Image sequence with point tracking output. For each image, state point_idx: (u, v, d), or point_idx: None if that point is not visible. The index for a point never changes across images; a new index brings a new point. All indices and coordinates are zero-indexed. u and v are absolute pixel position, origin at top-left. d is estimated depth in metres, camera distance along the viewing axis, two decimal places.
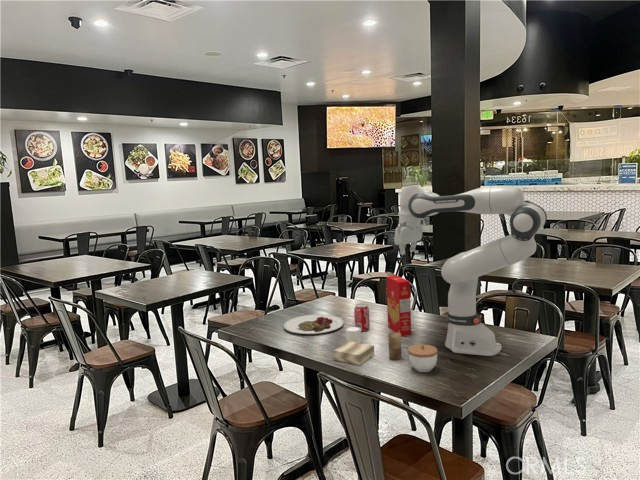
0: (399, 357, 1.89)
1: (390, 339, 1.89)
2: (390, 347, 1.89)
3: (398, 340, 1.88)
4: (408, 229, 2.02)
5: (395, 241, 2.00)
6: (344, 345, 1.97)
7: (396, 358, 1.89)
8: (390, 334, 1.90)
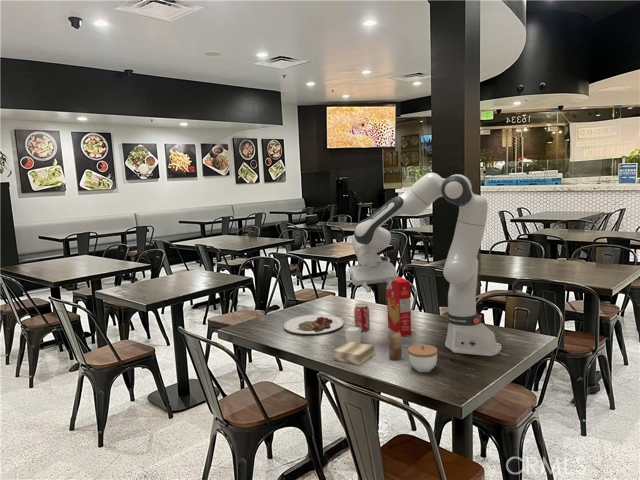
0: (399, 357, 1.89)
1: (390, 339, 1.89)
2: (390, 347, 1.89)
3: (398, 340, 1.88)
4: (364, 267, 2.04)
5: (352, 282, 2.01)
6: (344, 345, 1.97)
7: (396, 358, 1.89)
8: (390, 334, 1.90)
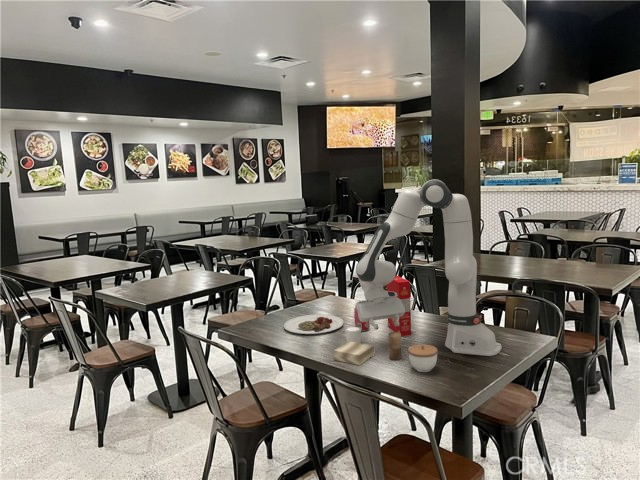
0: (399, 357, 1.89)
1: (390, 339, 1.89)
2: (390, 347, 1.89)
3: (398, 340, 1.88)
4: (370, 303, 2.00)
5: (359, 318, 1.97)
6: (344, 345, 1.97)
7: (396, 358, 1.89)
8: (390, 334, 1.90)
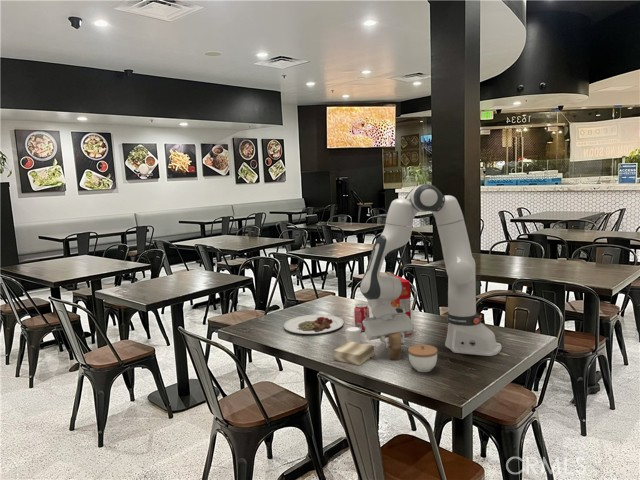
0: (399, 357, 1.89)
1: (390, 339, 1.89)
2: (390, 347, 1.89)
3: (398, 340, 1.88)
4: (378, 320, 1.94)
5: (367, 336, 1.91)
6: (344, 345, 1.97)
7: (396, 358, 1.89)
8: (390, 334, 1.90)
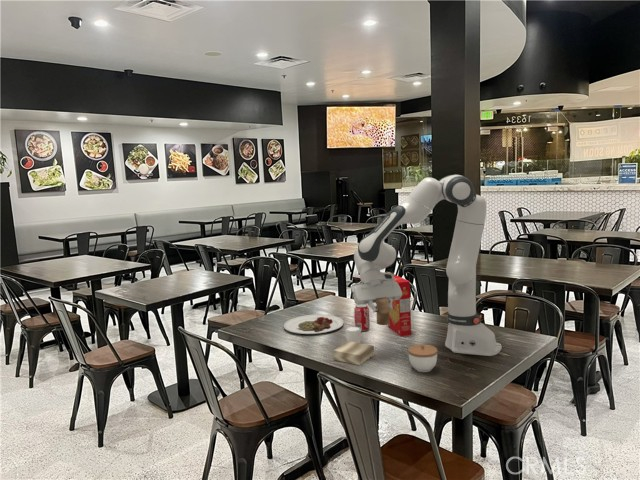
0: (387, 322, 1.88)
1: (378, 303, 1.87)
2: (378, 312, 1.88)
3: (386, 305, 1.87)
4: (366, 285, 1.92)
5: None
6: (344, 345, 1.97)
7: (384, 323, 1.88)
8: (378, 299, 1.89)
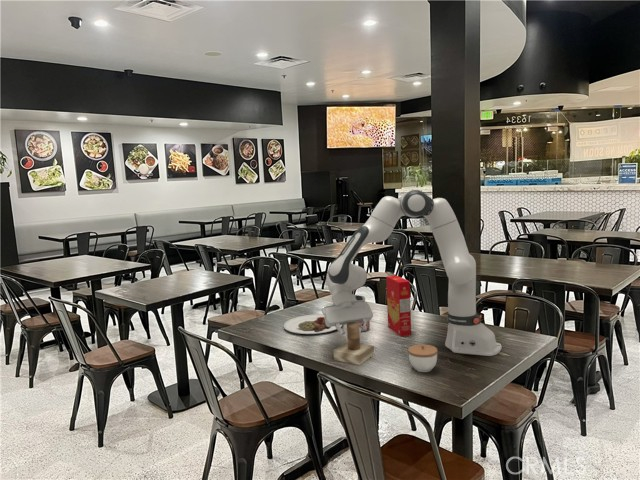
0: (357, 347, 1.92)
1: (348, 329, 1.91)
2: (348, 337, 1.92)
3: (356, 330, 1.90)
4: (337, 308, 1.96)
5: None
6: (344, 345, 1.97)
7: (354, 348, 1.91)
8: (348, 324, 1.92)
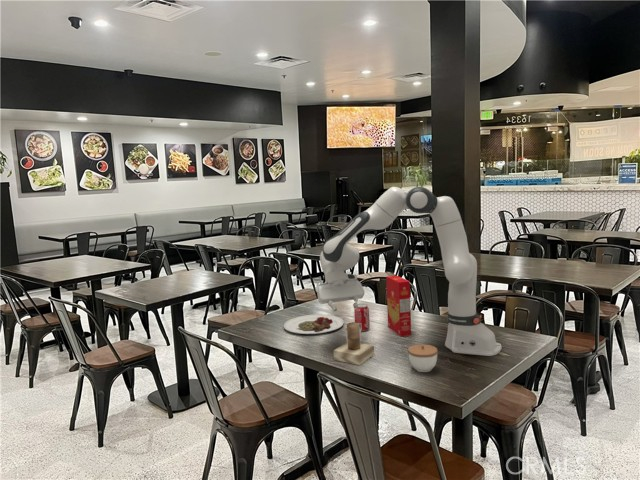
0: (357, 347, 1.92)
1: (348, 329, 1.91)
2: (348, 337, 1.92)
3: (356, 330, 1.90)
4: (330, 285, 2.02)
5: (318, 300, 2.00)
6: (344, 345, 1.97)
7: (354, 348, 1.91)
8: (348, 324, 1.92)
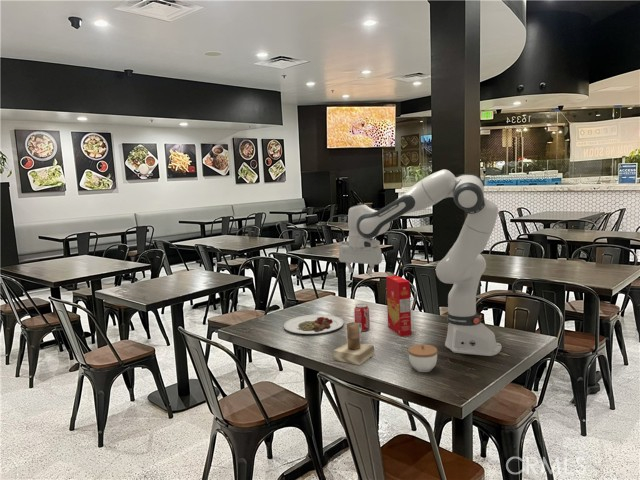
0: (357, 347, 1.92)
1: (348, 329, 1.91)
2: (348, 337, 1.92)
3: (356, 330, 1.90)
4: (349, 248, 2.08)
5: None
6: (344, 345, 1.97)
7: (354, 348, 1.91)
8: (348, 324, 1.92)
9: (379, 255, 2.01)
